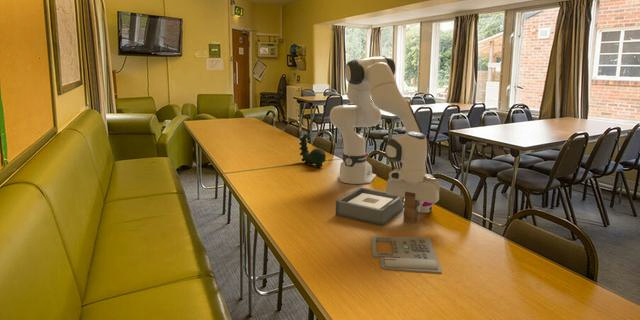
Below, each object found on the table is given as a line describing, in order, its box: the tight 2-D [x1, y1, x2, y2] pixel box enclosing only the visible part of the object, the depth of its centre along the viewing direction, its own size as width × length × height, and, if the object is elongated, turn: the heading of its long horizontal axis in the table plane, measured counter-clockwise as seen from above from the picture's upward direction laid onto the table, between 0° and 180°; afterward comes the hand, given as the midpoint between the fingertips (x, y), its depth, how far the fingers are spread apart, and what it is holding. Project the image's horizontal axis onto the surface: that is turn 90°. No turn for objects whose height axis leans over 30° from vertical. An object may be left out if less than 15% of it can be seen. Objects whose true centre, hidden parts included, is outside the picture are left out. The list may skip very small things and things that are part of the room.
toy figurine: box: [298, 133, 327, 169], centre depth 239 cm, size 9×19×25 cm
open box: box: [335, 186, 404, 227], centre depth 166 cm, size 22×20×6 cm
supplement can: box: [417, 172, 434, 214], centre depth 167 cm, size 8×8×15 cm
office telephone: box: [371, 235, 443, 274], centre depth 130 cm, size 23×3×20 cm
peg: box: [403, 192, 418, 224], centre depth 156 cm, size 4×4×12 cm
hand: (410, 209), depth 156 cm, fingers closed on peg, 4 cm apart
